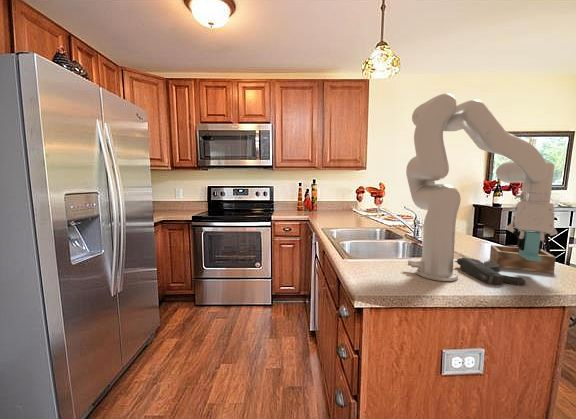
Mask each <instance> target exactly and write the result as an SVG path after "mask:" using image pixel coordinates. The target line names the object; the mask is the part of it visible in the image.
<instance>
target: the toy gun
mask: <svg viewBox="0 0 576 419" xmlns="http://www.w3.org/2000/svg"><path fill="white" fill-rule="evenodd" d="M454 263H456V264H457V265H459V269H460V270H461V271H462V272H465V273H466V274H469V275H470V276H472V277H474V278H475V279H478V280H479V281H482V282H484V283H485V284H488V285H493V286H502V285H503V283H505V284H509V285H514V286H518V285H519V286H521V287H523V286H525V285H526V283H527V282H526V280H525V279H524V278H523V277H521V276H519V277H518V276H511V275H510V276H509V275H505V274H500V273H499V271H500V269H501V267H500V265H499V264H496V263H493V262H492V261H491V262H490V261H484V262H482V261H481V260H479V259H475V258H471V257H460V258H458V259H456V260H454Z"/></svg>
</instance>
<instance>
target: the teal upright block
mask: <svg viewBox="0 0 576 419" xmlns="http://www.w3.org/2000/svg"><path fill="white" fill-rule="evenodd" d="M540 236H541V234H540V233H538V232H534V231H525V235H524V239H525V244H524V250H520V249H519V255H520V256H522V257H523V258H525V259H526V260H530V261H538V262H541V259H542V257H540V256H538V252H539V244H540Z"/></svg>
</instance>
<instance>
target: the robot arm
mask: <svg viewBox="0 0 576 419" xmlns="http://www.w3.org/2000/svg"><path fill="white" fill-rule="evenodd" d="M411 121H412V123H413V125H414V126H415V128H414V132H413V133H414V134H413V143H414V149H415V150H414V151H415V155H416V156H413V157H412V158H411V159H410V160H409V161H408V163H407V165H406V178H407V179H406V180H407V183H408V187H409V192H410V195H411V199H412V202H413V203H414V205H415V206H416V207H417V208H419V209H420V210H424V211H426V214H425V217H424V221H423V228H422V229H423V232H422V234H423V235H422V250H421V251H422V252H421V258H420V260H416V261H415V260H409V259H408V260H407V266H410V267H411V268H416V274H417V275H419V276H420V277H423V278H425V279H427V280H431V281H438V282H452V281H453V282H454V281H457V280H458V279H459V274H458V273H456V272H455V271H454V261H455V260H454V259H455V258H454V256H455V255H454V254H455V244H456V243H455V242H456V240H455V239H456V228H457V217H458V213H459V209H460V205H461V201H462V200H461V199H462V198H461V194H460V192H459V190H458V189H457V188H456V187H455V186H453V185H451V184H446V183H435V182H436V181H437V182H438V181H441V180H443V179H445V178H446V177H447V176H448V175H449V172H450V164H449V160H448V157H447V152H446V147H445V142H444V132H457V131H460V130H461V131H462V130H464V132H465V133H466V135H468V137H469V138H470V139H471V140H472V142H473V143H474V144H475V146H476V147H477V148H478V149H479V150H482V151H484V152H488V153H492V154H497V155H500V156H502V157H505V158H507V159H508V160H511V161H506V162H503V163H501V164H500V165H498V167H497V168H496V171H495V175H496V178H497V179H498V180H499V181H501V182H503V183H508V184H510V183H511V184H519V183H520V184H521V183H522V184H521V185H522V186H521V192H520V193H517V194H515V198H516V199H519V200H520V201H517V204H516V206H515V210H514V212H513V216H512V221H511V223H509V224H508V225H507V227H506V230H507V231H509V232H511V233H512V234H514V235H515V236H516V237H517V243H516V247H519V249H520V250H524V244H525V239H524V235H525V231H534V232H538V233H540V234H541V236H540V244H539V251H540V250H541V249H542V250H543V248H542V246H543V241H545V240H546V239H548V238H550V237H551V236H552V237H553V236H555V235H557V234H558V231H557V229H556V228H555V207H554V203H552V202H551V196H552V190H553V189H552V187H553V180H554V174H555V173H554V172H555V164H554V163H553V162H550V161H546V160H545V158H544V156H543V155H542V153H541V152H539V150H538V149H537V148H536V147H535V146H534V145H532V144H531V143H529V142H527V141H526V140H524V139H522V138H520V137H518V136H516V135H515V134H512V133H509V132H508V131H507V130H506V129H505V128H504V127H503V126H502V125H501V123H500V122H499V121H498V120H497V118H496V117H495V116H494V114H493V113H492V111H490V110H489V108H488V106H487V105H486V104H485V103H484V102H483V101H481V100H480V99H471V100H468V101H464V102H462V103H459V104H458V105H457V100H456V97H455V96H454V95H453V94H451V93H441V94H439V95H436V96H434V97H432V98H430V99H428V100H427V101H425V102H422V103H421V104H420V105H418V106H417V107H416V108H414V110H413V112H412V114H411Z"/></svg>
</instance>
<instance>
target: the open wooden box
mask: <svg viewBox="0 0 576 419" xmlns="http://www.w3.org/2000/svg"><path fill="white" fill-rule="evenodd" d="M538 256H540V257H542V259H541V262H538V261H530V260H526V259H525V258H523V257H522V256H520V255H519V247H517V246H504V245H493V244H491V245H490V253H489V260H490V261H491V263H496V264H499V265H500V268H502V269H503V268H504V269H514V270H522V271H529V272H530V271H531V272H540V273H548V274H549V273H550V274H555V267H556V266H555V265H556V256H554V254H551V253H550V252H547V251H545V250H544V249H543V248H542V249H541V250H540V251H539V252H538Z"/></svg>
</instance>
